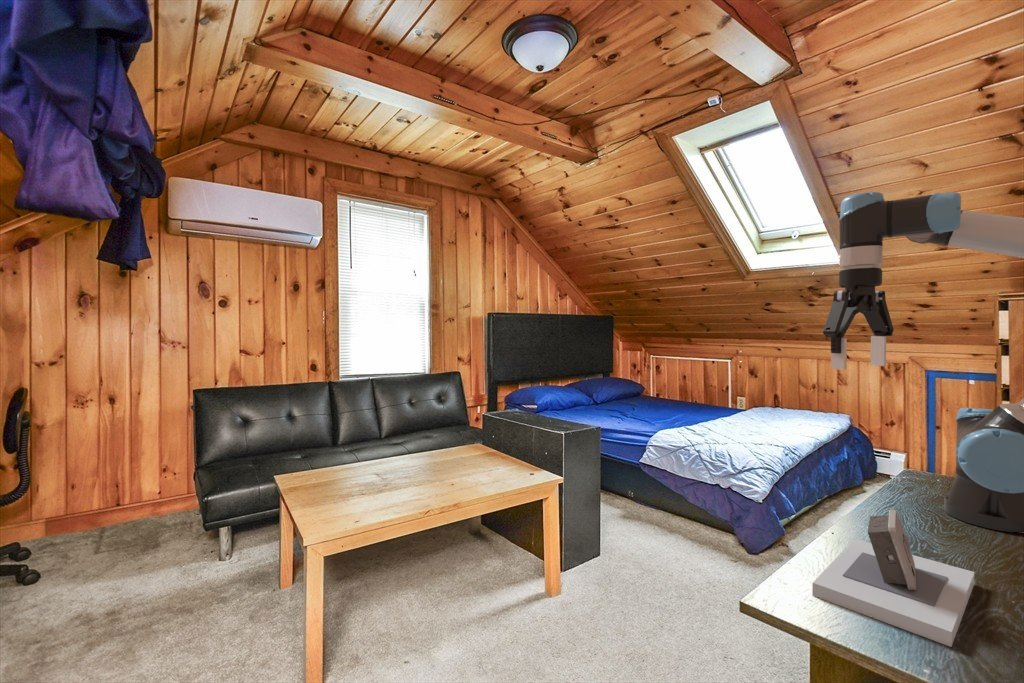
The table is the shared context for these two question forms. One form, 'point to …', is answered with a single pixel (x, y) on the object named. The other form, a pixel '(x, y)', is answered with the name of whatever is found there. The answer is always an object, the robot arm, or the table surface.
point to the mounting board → (898, 592)
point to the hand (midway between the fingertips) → (858, 367)
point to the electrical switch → (892, 549)
